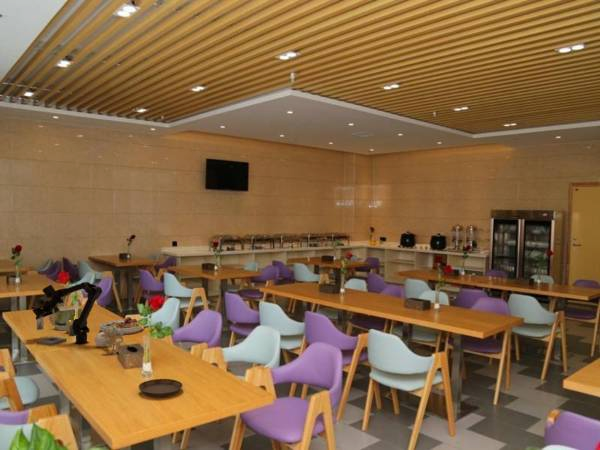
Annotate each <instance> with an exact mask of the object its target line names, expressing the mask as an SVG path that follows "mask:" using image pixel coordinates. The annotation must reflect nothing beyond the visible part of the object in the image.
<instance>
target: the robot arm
mask: <svg viewBox="0 0 600 450" xmlns="http://www.w3.org/2000/svg"><path fill="white" fill-rule="evenodd" d="M81 290H84V292H85V293H87V295H86V296H87V299H86V302H85V304H84V307H83V308H82V312H81V315H80V317H79V318H78V319H75V320H74V322H73V324H72V325H73V326H72V328H73V331H74V335H76V336H75V342H73V344H75V345H85V344H88V343H89V341H88V333H90V328H89V327H88V319H89V316H90V313H91V311H92V309H93V307H94V305H95V303H96V301H97V300H98V299H99V298H100V296H102V294H103V289H102V288H101V286H97V285H95V284H93V283H91V282H89V281H85V282H84V281H83V282H81V283H79V284H76V285H73V286H69V287H63V288H59V289H55V288H54V287H53V285H52V284H49V285H48V286H46V287H44V288H43V289H42V292H43V294H44V295H45V296H46V297H43V296H41V297H39V298H37V299H36V303H37V304H38V305H41V307H39V306H37V307H34V308H33V309H32V312H33V313H34V315H35V320H36V321H37V319H39V318H41V317H43V316H44V318H46V317H48V316H50V315H53V314H54V313H56V312H58V311H59V307H58V304H64V298H66V297H68V296H70V295H71V294H72V293H75V292H78V291H81ZM47 298H50V299H47Z"/></svg>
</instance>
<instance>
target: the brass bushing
mask: <svg viewBox="0 0 600 450" xmlns="http://www.w3.org/2000/svg"><path fill="white" fill-rule="evenodd" d="M72 324H73V320H67V321H66V330H65V332H66V335H67V334H68V335H70V325H72Z"/></svg>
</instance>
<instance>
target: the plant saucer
mask: <svg viewBox="0 0 600 450" xmlns="http://www.w3.org/2000/svg"><path fill="white" fill-rule="evenodd" d="M182 388H183V383H182V382H181V381H179V380H176V379H171V378H155V379H150V380H146V381H143V382H141V383H140V384H139V385H138V390H139V391H140V392H141V394H143V395H144V396H147V397H150V398H168V397H171V396H174V395H176V394H177V393H179V392H180V391H181V389H182Z"/></svg>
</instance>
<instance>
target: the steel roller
mask: <svg viewBox="0 0 600 450" xmlns="http://www.w3.org/2000/svg"><path fill="white" fill-rule="evenodd" d="M44 318H45V317H44V316H43V317H41V318H39V319H37V320H36V330H38V331H40V330H41V331H42V330H44V325H45V323H44V322H45V319H44Z"/></svg>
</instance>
